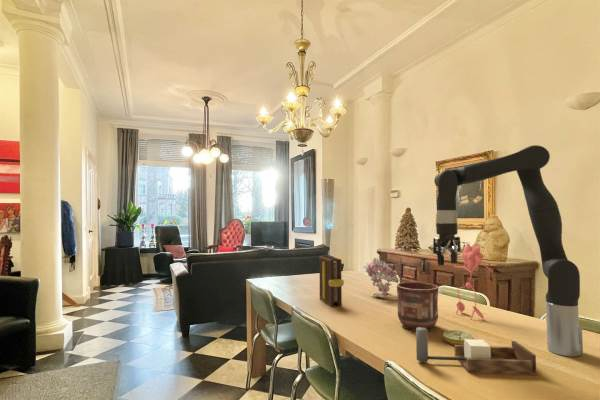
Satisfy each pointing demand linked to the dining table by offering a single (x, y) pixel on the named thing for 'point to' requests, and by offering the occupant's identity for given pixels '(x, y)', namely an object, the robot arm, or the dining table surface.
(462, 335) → the decorated donut
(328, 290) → the book
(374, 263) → the flower
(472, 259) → the figurine
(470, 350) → the block with knobbed rod
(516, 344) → the walnut lane
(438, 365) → the dining table surface
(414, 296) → the pottery
